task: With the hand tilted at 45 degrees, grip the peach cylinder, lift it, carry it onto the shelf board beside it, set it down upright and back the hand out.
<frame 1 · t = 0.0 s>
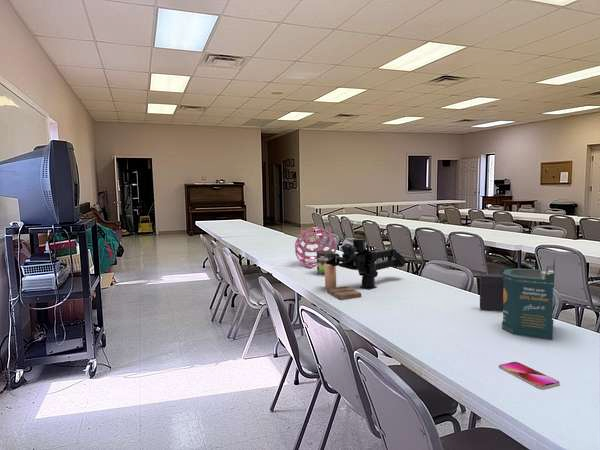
hand: (332, 263, 202), 17 cm above the table, tool horizontal, fingers open, 9 cm apart
pink openwork sphere: (316, 266, 280), on the table
donation box: (527, 329, 152), on the table
shelf board: (343, 294, 206), on the table
peach cylinder: (330, 289, 218), on the table
smartphone: (527, 377, 117), on the table
coffee can: (325, 274, 253), on the table
dark grey block: (494, 310, 175), on the table
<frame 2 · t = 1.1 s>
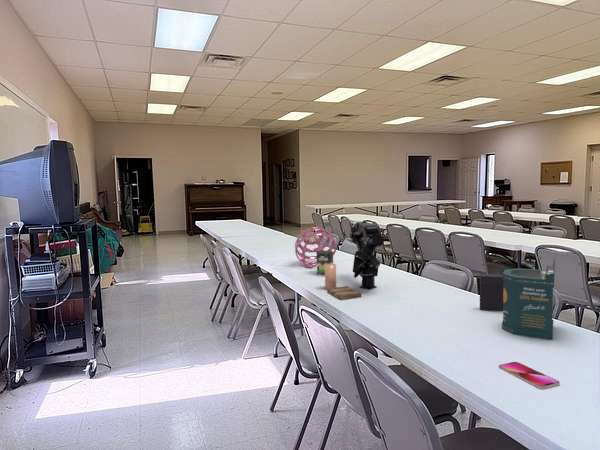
hand: (354, 274, 205), 10 cm above the table, tool tilted 40°, fingers open, 9 cm apart
nothing on the table moved.
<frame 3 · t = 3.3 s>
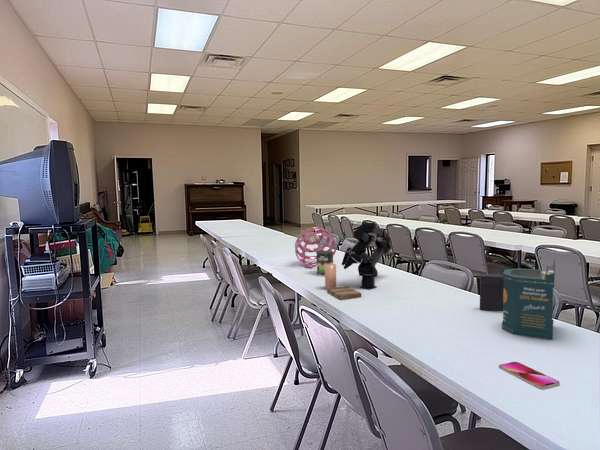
hand: (343, 266, 216), 12 cm above the table, tool tilted 40°, fingers open, 9 cm apart
nothing on the table moved.
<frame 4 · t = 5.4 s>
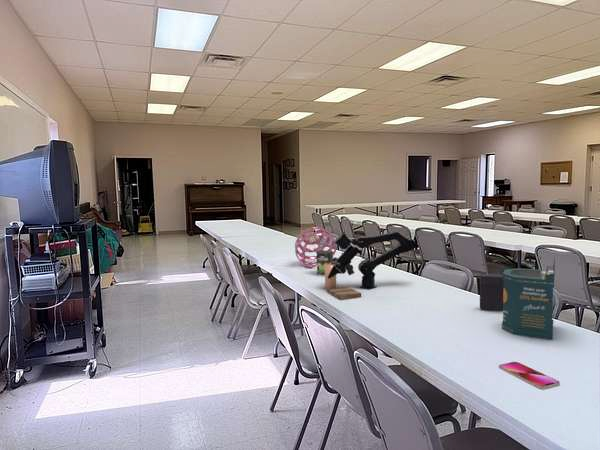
hand: (327, 276, 218), 7 cm above the table, tool tilted 45°, fingers closed on peach cylinder, 6 cm apart
peach cylinder: (330, 288, 218), on the table, touching gripper
everything else where it was.
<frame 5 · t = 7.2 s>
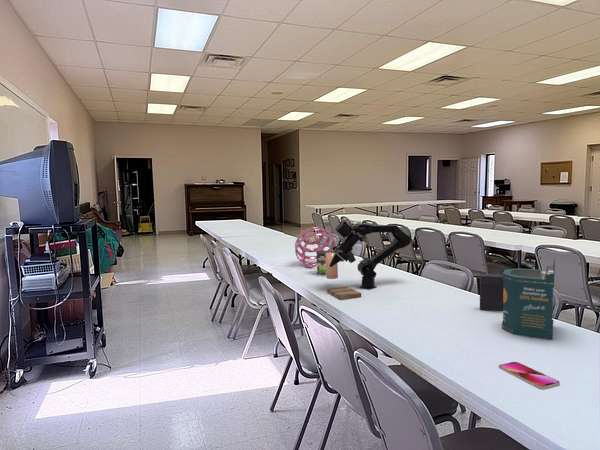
hand: (329, 265, 214), 13 cm above the table, tool tilted 45°, fingers closed on peach cylinder, 6 cm apart
peach cylinder: (332, 277, 215), point 7 cm above the table, touching gripper
everything else where it was.
when the fingers open (10 cm above the table, at t = 9.4 s): peach cylinder drops 1 cm, resting on shelf board.
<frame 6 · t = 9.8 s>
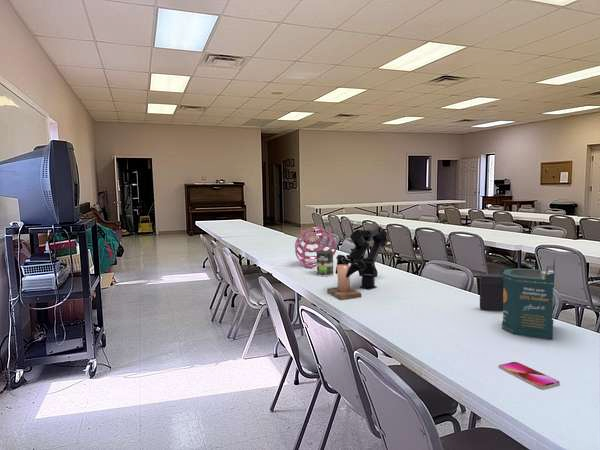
hand: (341, 275, 205), 10 cm above the table, tool tilted 45°, fingers open, 9 cm apart
peach cylinder: (343, 290, 206), point 2 cm above the table, touching shelf board
everything else where it was.
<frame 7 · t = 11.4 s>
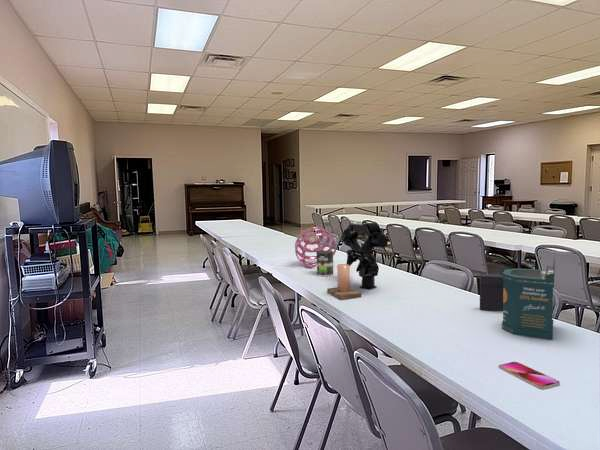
hand: (351, 269, 208), 12 cm above the table, tool tilted 45°, fingers open, 9 cm apart
nothing on the table moved.
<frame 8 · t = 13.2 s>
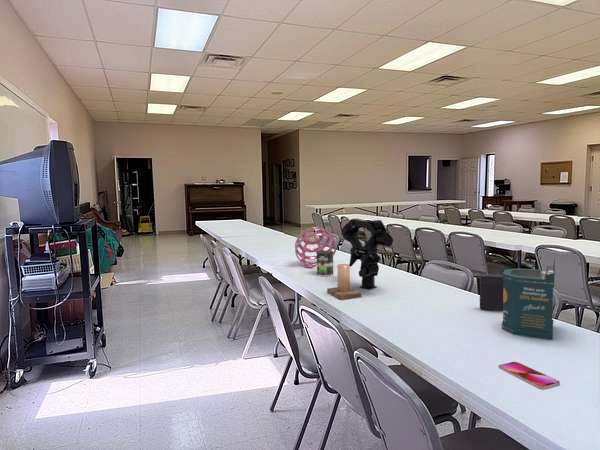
hand: (355, 267, 205), 14 cm above the table, tool tilted 45°, fingers open, 9 cm apart
nothing on the table moved.
at the end: peach cylinder inside the target area on the shelf board (0.1 cm from its centre), point 2.0 cm above the shelf board's base; peach cylinder tilted 0°; the gripper is holding nothing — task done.
